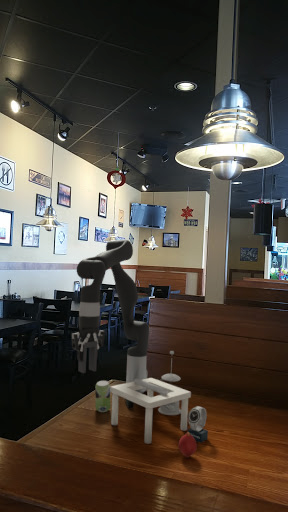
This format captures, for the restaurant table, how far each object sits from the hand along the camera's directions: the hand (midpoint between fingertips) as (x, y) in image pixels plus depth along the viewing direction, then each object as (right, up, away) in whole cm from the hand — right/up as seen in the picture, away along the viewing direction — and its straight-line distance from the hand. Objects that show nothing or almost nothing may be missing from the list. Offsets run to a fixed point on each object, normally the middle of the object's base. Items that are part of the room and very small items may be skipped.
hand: (87, 359), depth 148 cm
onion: (+35, -26, -20) cm, 48 cm away
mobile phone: (+14, -26, +28) cm, 41 cm away
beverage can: (+4, -26, +17) cm, 31 cm away
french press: (+31, -27, +21) cm, 46 cm away
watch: (+40, -27, -6) cm, 48 cm away
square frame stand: (+23, -26, +3) cm, 34 cm away
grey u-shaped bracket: (0, -4, 0) cm, 4 cm away
